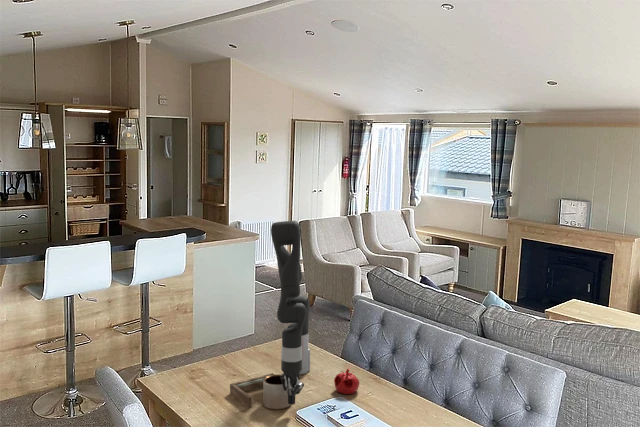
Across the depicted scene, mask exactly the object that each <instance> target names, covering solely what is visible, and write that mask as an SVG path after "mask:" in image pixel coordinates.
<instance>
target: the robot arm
mask: <svg viewBox="0 0 640 427" xmlns="http://www.w3.org/2000/svg"><path fill="white" fill-rule="evenodd" d="M270 234H271V241H272V244H273V245H272V246H273V248H274V253H275V255H276V260H277V261H276V262H277V270H278V275H279V281H280V298H279V304H278V307H277V312H276V318H277V321H279V323H281V324H289V325H288V326H287V328H285V329H283V330H282V332H281V351H280V352H281V356H280V358H281V359H280V362H281V363H280V365H281V366H280V367H281V368H280V370H281V371H282V374H280V379H281V382H282V385H283V388H284V390H285V391H287V394H288V404H290V406H293V405H295V404H296V395H300V393H301V391H302V389H303V388H305V387H304V386H305V384H304V383H303V382H301V381H300V380H301V376H300V375H305V374H307V373H308V372H310V371H311V349H310V348H309V335H310V334H309V329H310V327H309V326H310V309H311V308H310V306H311V304H310V298H309V297H308V296H306V295H305V296H303V295H301V282H302V279H303V272H302V265H301V261H300V260H301V245H302V244H301V241H302V239H301V238H302V237H301V235H302V234H301V227H300V223H299V222H298V220H285V221H276V222H273V223H272V224H271V226H270ZM285 246H292V248H291V252H290V251H289V250H288V249H286V247H285Z"/></svg>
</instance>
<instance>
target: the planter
mask: <svg viewBox="0 0 640 427" xmlns="http://www.w3.org/2000/svg"><path fill="white" fill-rule="evenodd" d="M280 375H281V374H277V373H276V374H275V375H270V376H267V377H265V378H264V379H263V386H262V387H263V388H262V391H263V392H262V404H263V406H264V407H266V408H268V409H270V410H276V411H277V410H284V409H286V408H288V407H290V406H291V405H290V404H288V394H287V391H285V390H284V388H283V385H282V382H281V379H280Z"/></svg>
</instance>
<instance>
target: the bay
mask: <svg viewBox="0 0 640 427" xmlns="http://www.w3.org/2000/svg"><path fill="white" fill-rule="evenodd" d="M270 375H276V374H275V373H273V372H272V373H268V374H264V375H258V376H256V377H253V378H248V379H245V380H240V381H235V382H233V383H229V384H230V385H229V394H230V395H231V396H232V397H234V398H235V399H237V401H239V402H240V403H242V404H243V405H244V406H246V407H247V408H248V409H252V408H253V406H252V403H253V402H252V401H253V397H252V396H251V395H249V394H248V393H246V391H250V390H251V391H252V390H254V389H257V388H262V387H263V379H264V378H265V377H267V376H270Z"/></svg>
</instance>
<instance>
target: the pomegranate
mask: <svg viewBox="0 0 640 427" xmlns="http://www.w3.org/2000/svg"><path fill="white" fill-rule="evenodd" d="M333 382H334V387H335V390H336V391H337V393H340V394H342V395H343V394H344V395H353V394H355V392H356V391H358V390H359V386H360V380H359V379H358V377H357V376H356V375H355V374H353V371H351V372H350V368H346V369H345V372H344V371H342V370H341V371H340V372H339V373H337V374H336V375H335V377H334V380H333Z"/></svg>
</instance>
